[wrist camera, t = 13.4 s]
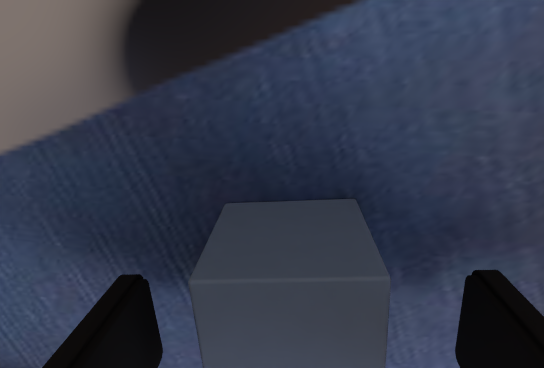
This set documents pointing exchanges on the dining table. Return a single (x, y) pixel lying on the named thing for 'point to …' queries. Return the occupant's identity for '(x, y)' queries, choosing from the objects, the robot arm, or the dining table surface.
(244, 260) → the slate block
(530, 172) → the dining table surface
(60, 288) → the dining table surface
